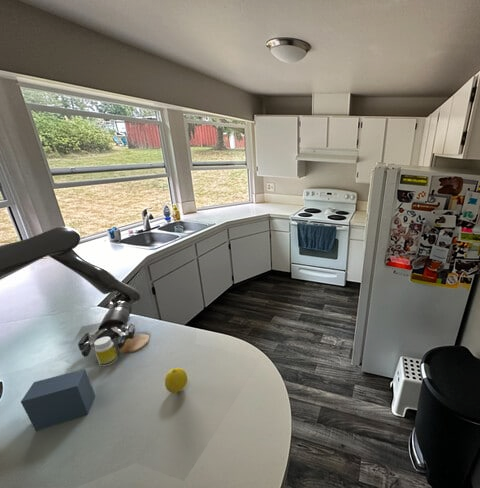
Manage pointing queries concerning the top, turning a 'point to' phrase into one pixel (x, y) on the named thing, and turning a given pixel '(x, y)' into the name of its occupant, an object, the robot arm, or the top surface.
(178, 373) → the lemon
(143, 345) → the coaster
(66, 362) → the top surface
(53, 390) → the dark gray rectangular block
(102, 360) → the supplement bottle
